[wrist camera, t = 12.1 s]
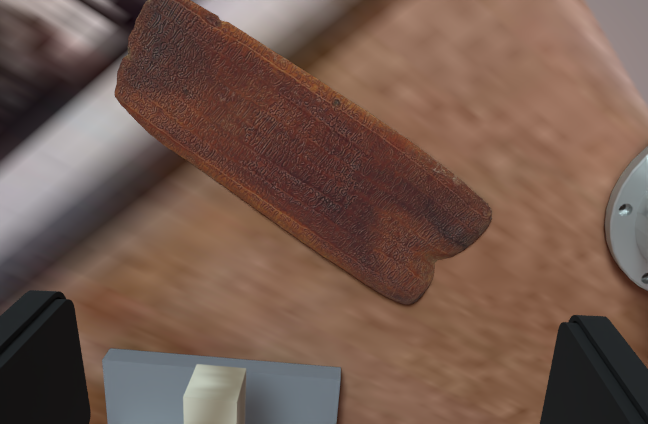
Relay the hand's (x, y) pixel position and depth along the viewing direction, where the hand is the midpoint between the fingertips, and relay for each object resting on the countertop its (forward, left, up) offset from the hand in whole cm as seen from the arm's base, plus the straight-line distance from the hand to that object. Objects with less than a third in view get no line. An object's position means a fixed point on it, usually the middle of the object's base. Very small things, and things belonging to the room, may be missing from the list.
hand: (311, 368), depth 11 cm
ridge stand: (+6, +27, -28) cm, 39 cm away
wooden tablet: (+2, +3, -28) cm, 29 cm away
